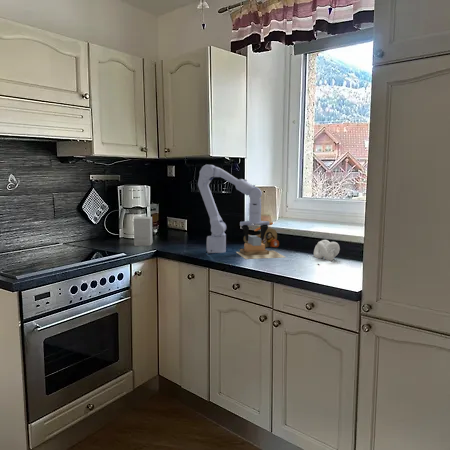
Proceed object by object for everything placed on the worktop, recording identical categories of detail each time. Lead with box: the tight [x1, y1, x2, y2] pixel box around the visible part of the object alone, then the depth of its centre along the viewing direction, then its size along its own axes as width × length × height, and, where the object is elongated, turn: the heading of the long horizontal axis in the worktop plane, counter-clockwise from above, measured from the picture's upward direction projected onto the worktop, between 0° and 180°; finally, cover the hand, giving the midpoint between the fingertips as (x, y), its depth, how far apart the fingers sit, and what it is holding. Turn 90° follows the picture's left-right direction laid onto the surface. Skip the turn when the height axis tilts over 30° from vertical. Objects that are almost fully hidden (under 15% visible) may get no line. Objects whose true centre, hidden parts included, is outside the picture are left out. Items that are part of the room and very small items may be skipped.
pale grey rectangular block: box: [248, 234, 261, 246], centre depth 207 cm, size 4×9×4 cm, turn 14°
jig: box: [235, 248, 287, 260], centre depth 204 cm, size 20×17×2 cm
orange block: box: [243, 242, 266, 252], centre depth 207 cm, size 9×5×4 cm, turn 104°
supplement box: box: [133, 216, 153, 247], centre depth 231 cm, size 9×9×15 cm
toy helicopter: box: [243, 222, 280, 248], centre depth 224 cm, size 8×21×14 cm, turn 121°
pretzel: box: [313, 239, 341, 262], centre depth 199 cm, size 11×12×9 cm
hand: (254, 240), depth 207 cm, fingers open, 7 cm apart
